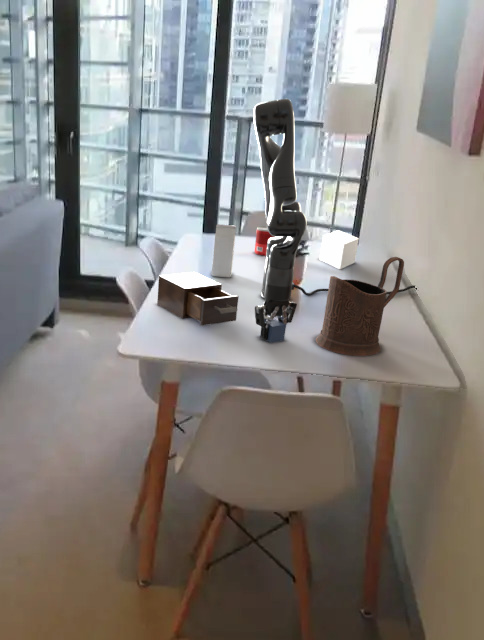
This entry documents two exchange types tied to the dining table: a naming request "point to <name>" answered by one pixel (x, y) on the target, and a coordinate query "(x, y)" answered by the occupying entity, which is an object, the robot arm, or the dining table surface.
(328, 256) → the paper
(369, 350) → the cup holder
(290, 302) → the robot arm
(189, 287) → the cabinet
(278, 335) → the block
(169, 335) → the dining table surface
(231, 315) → the drawer
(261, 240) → the canned food
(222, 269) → the milk carton
